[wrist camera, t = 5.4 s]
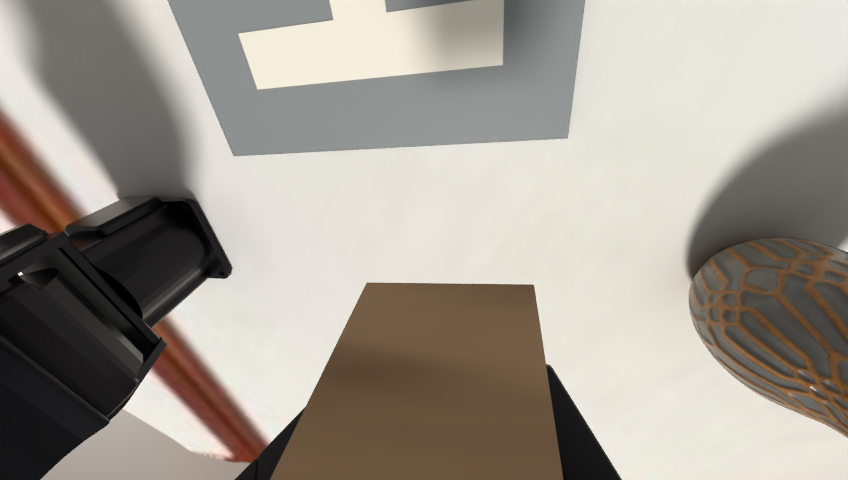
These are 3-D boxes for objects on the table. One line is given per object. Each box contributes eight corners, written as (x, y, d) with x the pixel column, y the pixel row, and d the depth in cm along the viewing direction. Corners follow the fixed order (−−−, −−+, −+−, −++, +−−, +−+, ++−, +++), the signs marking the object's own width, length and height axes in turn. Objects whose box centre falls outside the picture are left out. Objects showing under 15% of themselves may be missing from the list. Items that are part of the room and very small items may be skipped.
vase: (667, 233, 18) (789, 379, 10) (841, 200, 15) (1153, 360, 8) (669, 323, 21) (762, 483, 14) (812, 307, 18) (1018, 490, 11)
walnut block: (527, 391, 11) (549, 622, 7) (395, 380, 12) (341, 575, 8) (533, 284, 8) (573, 541, 4) (367, 282, 9) (265, 488, 5)
